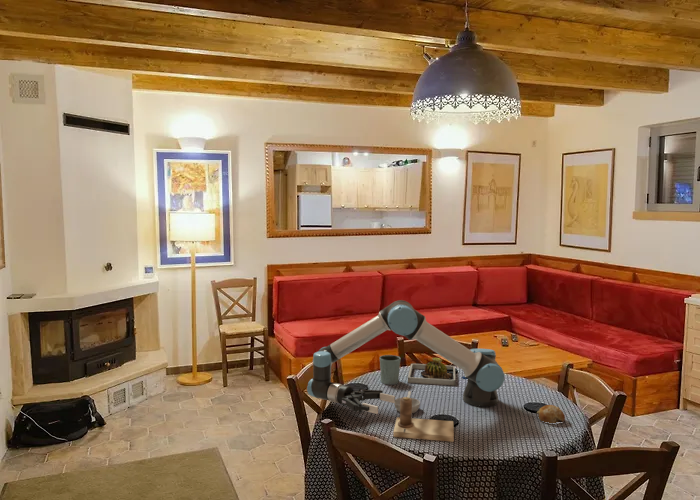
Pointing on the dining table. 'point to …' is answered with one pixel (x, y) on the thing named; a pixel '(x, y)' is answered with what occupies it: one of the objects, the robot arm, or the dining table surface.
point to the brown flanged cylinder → (405, 413)
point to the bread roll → (551, 414)
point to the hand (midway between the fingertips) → (386, 404)
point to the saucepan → (414, 403)
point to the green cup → (389, 369)
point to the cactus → (436, 370)
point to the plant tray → (429, 380)
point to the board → (426, 430)
